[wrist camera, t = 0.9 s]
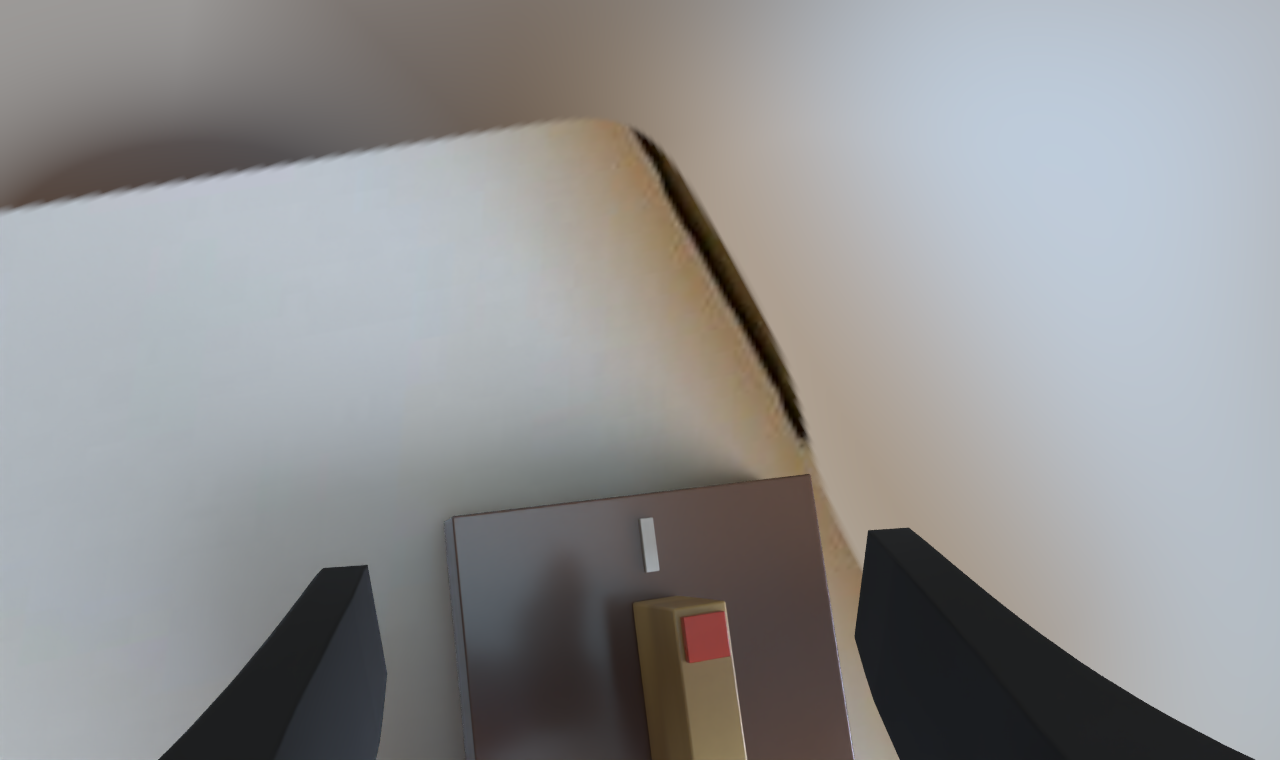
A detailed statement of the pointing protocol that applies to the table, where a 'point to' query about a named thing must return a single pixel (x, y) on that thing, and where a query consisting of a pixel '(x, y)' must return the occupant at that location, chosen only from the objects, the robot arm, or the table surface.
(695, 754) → the thumbturn
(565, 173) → the table surface
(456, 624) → the plate
